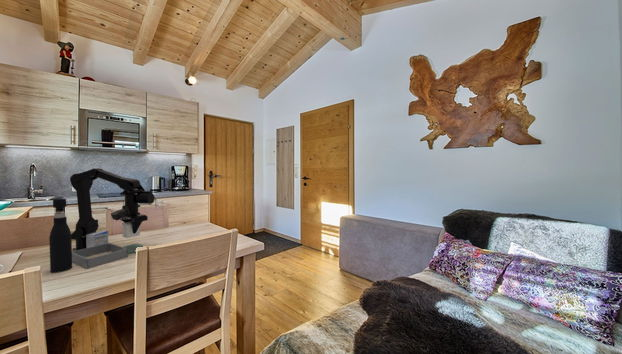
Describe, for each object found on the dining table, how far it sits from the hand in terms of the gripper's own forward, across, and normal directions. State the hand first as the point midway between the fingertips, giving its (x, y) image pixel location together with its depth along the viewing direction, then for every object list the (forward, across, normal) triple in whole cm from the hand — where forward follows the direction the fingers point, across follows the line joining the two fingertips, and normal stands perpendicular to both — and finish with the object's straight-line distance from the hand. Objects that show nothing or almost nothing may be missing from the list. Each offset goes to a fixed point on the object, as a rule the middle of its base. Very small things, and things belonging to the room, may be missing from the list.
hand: (131, 232), depth 124 cm
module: (+2, 0, 0) cm, 2 cm away
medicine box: (+9, -16, -8) cm, 20 cm away
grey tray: (+9, +1, -14) cm, 17 cm away
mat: (+9, 0, 0) cm, 9 cm away
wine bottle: (+9, +1, -27) cm, 29 cm away
